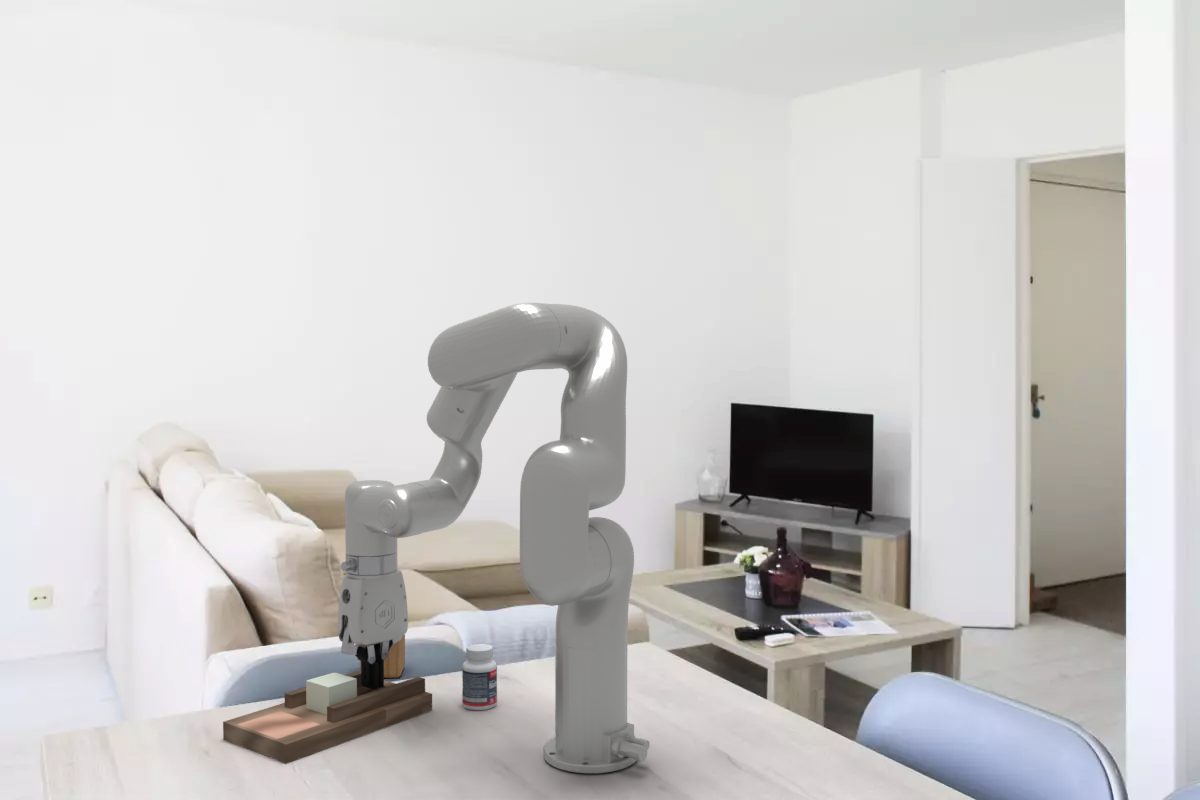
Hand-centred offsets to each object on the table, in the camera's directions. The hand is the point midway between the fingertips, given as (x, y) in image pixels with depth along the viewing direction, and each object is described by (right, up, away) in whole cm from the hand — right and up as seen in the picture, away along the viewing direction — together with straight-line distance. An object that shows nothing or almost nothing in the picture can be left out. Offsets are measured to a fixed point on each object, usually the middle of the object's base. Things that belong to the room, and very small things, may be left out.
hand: (372, 686), depth 160 cm
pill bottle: (+16, -4, +3) cm, 16 cm away
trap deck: (-5, -4, -6) cm, 8 cm away
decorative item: (-2, -3, +19) cm, 19 cm away
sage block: (-5, -1, -6) cm, 8 cm away
